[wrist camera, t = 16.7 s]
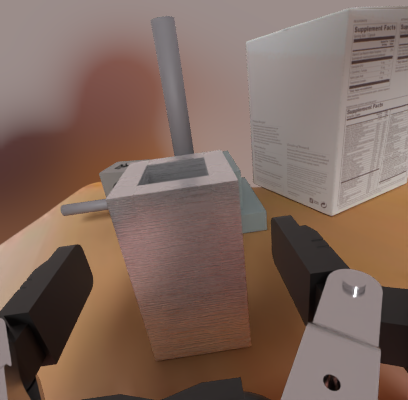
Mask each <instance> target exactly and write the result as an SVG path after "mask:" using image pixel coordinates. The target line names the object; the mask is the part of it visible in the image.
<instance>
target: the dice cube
mask: <svg viewBox="0 0 408 400" xmlns="http://www.w3.org/2000/svg"><path fill="white" fill-rule="evenodd" d="M140 161H147V160H136V161H123V162H117V163H115V164H113V165H112V166H110V167H109V168H107V169H105V170H104V171H102V172H100V173H99V175H100V178H101V182H102V185H103V188H104V191H105V195H106V198H107V197H108V195H109V194H110V192H111V191H112V189H113V188H114V186H115V185H116V183H117V182H118V181H119V179H120V178H121V176H122V175H123V173H124V172H125V170H126V169H127V167H128V166H129V165H130V163H133V162H140Z"/></svg>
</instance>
